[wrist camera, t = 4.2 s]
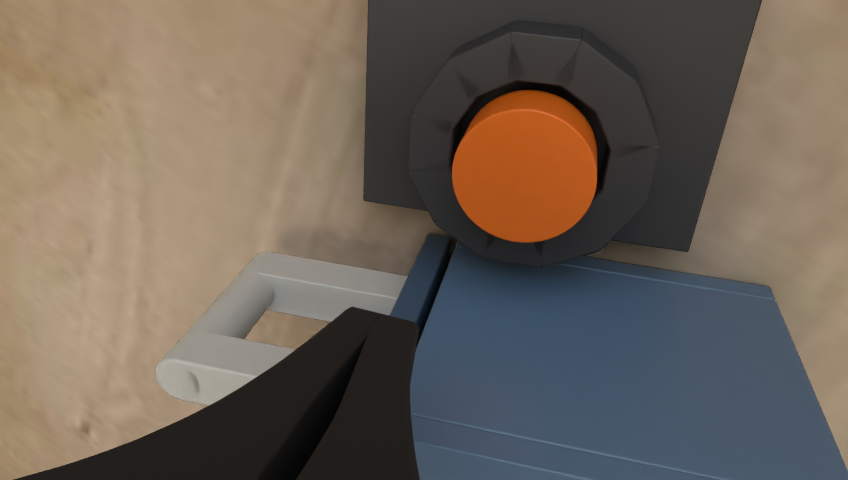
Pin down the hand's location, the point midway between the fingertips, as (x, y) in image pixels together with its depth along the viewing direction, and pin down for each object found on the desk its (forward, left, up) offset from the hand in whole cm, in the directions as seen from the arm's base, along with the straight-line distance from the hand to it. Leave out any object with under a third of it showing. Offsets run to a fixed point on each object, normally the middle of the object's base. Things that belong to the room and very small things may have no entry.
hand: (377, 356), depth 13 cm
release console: (+3, -2, -10) cm, 11 cm away
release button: (+1, -2, -8) cm, 8 cm away
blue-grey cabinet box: (-9, -5, -10) cm, 15 cm away
